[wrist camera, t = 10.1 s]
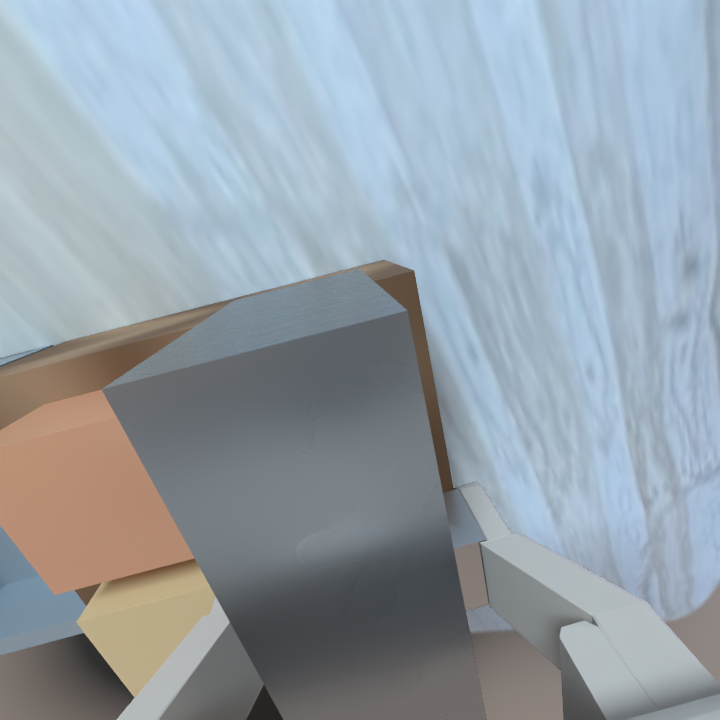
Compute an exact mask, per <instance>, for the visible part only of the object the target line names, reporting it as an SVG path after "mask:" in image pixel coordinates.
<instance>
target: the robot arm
mask: <svg viewBox="0 0 720 720" xmlns="http://www.w3.org/2000/svg"><path fill="white" fill-rule="evenodd" d="M443 496H444V502H445V507H446V512H447V517H448V522H449V528H450V533H451V538H452V543H453V548H454V553H455V559H456V564H457V569H458V574H459V579H460V584H461V590H462V595H463V600H464V605H465V610H470V609H475V608H479V607H483V606H488V605H490V607H491V608H492V609H493V610H494V611H495V612H496V613H497V614H498V615H500V616H501V617H502V618H503V619H504V620H505V621H506V622H507V623H508V624H510V625H511V626H512V627H513V628H514V629H515V630H516V631H517V632H518V633H520V634H521V635H522V636H523V637H524V638H525V639H526V640H527V641H529V642H530V643H531V644H532V645H533V646H534V647H535V648H536V649H537V650H538V651H540V652H541V653H542V654H543V655H544V656H545V657H546V658H547V659H549V660H550V661H551V662H552V663H553V664H554V665H555V666H556V667H557V668H558V669H560V670H561V675H562V696H563V715H564V720H720V685H719V683H718V682H717V681H716V680H715V679H714V678H713V676H712V675H711V674H710V673H709V672H708V671H707V670H706V669H705V667H704V666H703V665H702V664H701V663H700V662H699V661H698V660H697V658H696V657H695V656H694V655H693V654H692V653H691V652H690V650H689V649H688V648H687V647H686V646H685V645H684V644H683V643H682V641H681V640H680V639H679V638H678V637H677V636H676V635H675V634H674V632H673V631H672V630H671V629H670V628H669V627H668V626H667V624H666V623H665V622H664V621H663V620H662V619H661V618H660V617H659V615H658V614H657V613H656V612H655V611H654V610H653V609H652V608H651V606H650V605H649V604H648V603H647V602H646V601H644V600H642V599H640V598H638V597H636V596H635V595H633V594H631V593H629V592H627V591H625V590H624V589H622V588H620V587H618V586H616V585H614V584H613V583H611V582H609V581H607V580H605V579H603V578H602V577H600V576H598V575H596V574H594V573H592V572H591V571H589V570H587V569H585V568H583V567H581V566H580V565H578V564H576V563H574V562H572V561H570V560H569V559H567V558H565V557H563V556H561V555H559V554H558V553H556V552H554V551H552V550H550V549H548V548H547V547H545V546H543V545H541V544H539V543H537V542H536V541H534V540H532V539H530V538H528V537H526V536H525V535H523V534H521V533H515V534H512V533H511V531H510V529H509V528H508V526H507V525H506V523H505V522H504V520H503V519H502V517H501V515H500V514H499V512H498V511H497V509H496V508H495V506H494V504H493V503H492V501H491V500H490V498H489V497H488V495H487V494H486V492H485V490H484V489H483V487H482V486H481V484H480V483H478V482H477V481H476V482H473V483H469V484H466V485H462V486H459V487H457V488H452V489H448V490H445V491H443ZM263 685H264V683H263V681H262V680H261V678H260V676H259V674H258V672H257V671H256V669H255V667H254V665H253V663H252V662H251V660H250V658H249V656H248V654H247V652H246V651H245V649H244V647H243V645H242V643H241V642H240V640H239V638H238V636H237V634H236V632H235V631H234V629H233V627H232V625H231V623H230V622H229V620H228V618H227V616H226V614H225V613H224V611H223V609H222V607H221V605H220V603H219V602H218V600H217V598H216V596H215V599H214V602H213V606H212V609H211V612H210V614H208V615H205V616H203V617H202V618H201V619H200V620H199V622H198V623H197V624H196V625H195V626H194V628H193V629H192V630H191V631H190V632H189V634H188V635H187V636H186V637H185V638H184V640H183V641H182V642H181V643H180V644H179V646H178V647H177V648H176V649H175V650H174V652H173V653H172V654H171V655H170V656H169V658H168V659H167V660H166V661H165V662H164V663H163V665H162V666H161V667H160V668H159V669H158V671H157V672H156V673H155V674H154V675H153V677H152V678H151V679H150V680H149V681H148V683H147V684H146V685H145V686H144V687H143V689H142V690H141V691H140V692H139V693H138V695H137V696H136V697H135V698H134V699H133V701H132V702H131V703H130V704H129V705H128V707H127V708H126V709H125V710H124V711H123V713H122V714H121V715H120V716H119V717H118V719H117V720H246V718H247V717H248V714H249V713H250V710H251V708H252V707H253V705H254V703H255V701H256V699H257V697H258V695H259V693H260V691H261V689H262V687H263Z"/></svg>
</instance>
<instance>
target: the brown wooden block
mask: <svg viewBox="0 0 720 720" xmlns="http://www.w3.org/2000/svg"><path fill="white" fill-rule="evenodd" d="M356 269H360V270H362V271H363V272H364V273H365V274H366V275H367V276H368V277H370V278H371V279H372V280H373V281H374V282H375V283H377V284H378V285H379V286H380V287H381V288H382V289H383V290H385V291H386V292H387V293H388V294H389V295H390V296H391V297H393V298H394V299H395V300H396V301H397V302H398V303H399V304H401V305H402V306H403V307H404V308H405V309H406V310H408V315H409V320H410V326H411V331H412V336H413V341H414V346H415V352H416V357H417V362H418V367H419V372H420V377H421V383H422V388H423V393H424V398H425V403H426V408H427V414H428V419H429V424H430V429H431V434H432V440H433V445H434V450H435V455H436V460H437V465H438V471H439V476H440V481H441V486H442V491H445V490H448V489H452V488H453V484H452V479H451V473H450V467H449V462H448V456H447V451H446V445H445V440H444V434H443V428H442V423H441V417H440V412H439V406H438V401H437V395H436V390H435V384H434V378H433V373H432V367H431V362H430V356H429V351H428V345H427V340H426V334H425V328H424V323H423V317H422V312H421V306H420V301H419V295H418V289H417V284H416V278H415V273H414V270H411V269H408V268H405V267H402V266H399V265H396V264H394V263H391V262H388V261H385V260H382V261H378V262H374V263H371V264H367V265H363V266H359V267H355V268H351V269H347V270H343V271H339V272H335V273H332V274H328V275H324V276H320V277H316V278H312V279H308V280H304V281H300V282H296V283H293V284H289V285H285V286H281V287H277V288H273V289H269V290H265V291H261V292H257V293H254V294H250V295H246V296H242V297H238V298H234V299H230V300H226V301H222V302H218V303H214V304H211V305H207V306H203V307H199V308H195V309H191V310H187V311H183V312H179V313H175V314H172V315H168V316H164V317H160V318H156V319H152V320H148V321H144V322H140V323H136V324H133V325H129V326H125V327H121V328H117V329H113V330H109V331H105V332H101V333H97V334H94V335H90V336H86V337H82V338H78V339H74V340H70V341H66V342H63V343H61V344H58V345H56V346H53V347H51V348H48V349H45V350H43V351H40V352H38V353H35V354H33V355H30V356H28V357H25V358H23V359H20V360H17V361H15V362H12V363H10V364H7V365H5V366H2V367H0V430H1V429H3V428H5V427H7V426H8V425H10V424H12V423H13V422H15V421H17V420H18V419H20V418H22V417H24V416H25V415H27V414H29V413H30V412H32V411H34V410H36V409H37V408H39V407H41V406H42V405H44V404H48V403H52V402H56V401H60V400H64V399H67V398H71V397H75V396H79V395H83V394H87V393H91V392H95V391H98V390H102V389H103V388H104V387H106V386H107V385H109V384H110V383H112V382H113V381H115V380H116V379H118V378H119V377H121V376H122V375H124V374H125V373H127V372H128V371H130V370H131V369H133V368H134V367H135V366H137V365H138V364H140V363H141V362H143V361H144V360H146V359H147V358H149V357H150V356H152V355H153V354H155V353H156V352H158V351H159V350H161V349H162V348H164V347H165V346H167V345H168V344H170V343H171V342H173V341H174V340H176V339H177V338H179V337H180V336H182V335H183V334H185V333H186V332H188V331H189V330H191V329H192V328H194V327H195V326H197V325H198V324H200V323H201V322H203V321H204V320H205V319H207V318H208V317H210V316H211V315H213V314H214V313H216V312H217V311H219V310H220V309H222V308H223V307H225V306H226V305H228V304H229V303H231V302H232V301H235V300H239V299H242V298H246V297H250V296H254V295H258V294H262V293H266V292H270V291H274V290H278V289H282V288H285V287H289V286H293V285H297V284H301V283H305V282H309V281H313V280H317V279H321V278H325V277H328V276H332V275H336V274H340V273H344V272H348V271H352V270H356ZM100 585H101V583H99V584H95V585H92V586H88V587H84V588H80V589H76V590H74V591H75V592H76V593H77V595H78V596H79V597H80V599H81V600H82V601H83V603H84V604H85V605H86V606H87V605H88V603H89V602H90V600H91V599H92V597H93V596H94V594H95V592H96V591H97V589H98V588H99V586H100Z"/></svg>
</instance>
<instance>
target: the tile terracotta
mask: <svg viewBox="0 0 720 720" xmlns="http://www.w3.org/2000/svg"><path fill="white" fill-rule="evenodd" d="M0 526H1V527H2V528H3V529H4V531H5V532H6V533H7V535H8V536H9V537H10V538H11V540H12V541H13V542H14V543H15V545H16V546H17V547H18V549H19V550H20V551H21V552H22V554H23V555H24V556H25V558H26V559H27V560H28V561H29V563H30V564H31V565H32V567H33V568H34V569H35V570H36V572H37V573H38V574H39V576H40V577H41V578H42V579H43V581H44V582H45V583H46V585H47V586H48V587H49V588H50V590H51V591H52V592H53V593H54V595H57V594H61V593H65V592H69V591H73V590H76V589H80V588H84V587H88V586H92V585H95V584H99V583H103V582H107V581H111V580H114V579H118V578H122V577H126V576H130V575H133V574H137V573H141V572H145V571H149V570H152V569H156V568H160V567H164V566H168V565H171V564H175V563H179V562H183V561H186V560H190V559H194V556H193V555H192V553H191V551H190V549H189V547H188V545H187V544H186V542H185V540H184V538H183V536H182V535H181V533H180V531H179V529H178V527H177V525H176V524H175V522H174V520H173V518H172V516H171V515H170V513H169V511H168V509H167V507H166V506H165V504H164V502H163V500H162V498H161V496H160V495H159V493H158V491H157V489H156V487H155V486H154V484H153V482H152V480H151V478H150V477H149V475H148V473H147V471H146V469H145V467H144V466H143V464H142V462H141V460H140V458H139V457H138V455H137V453H136V451H135V449H134V448H133V446H132V444H131V442H130V440H129V438H128V437H127V435H126V433H125V431H124V429H123V428H122V426H121V424H120V422H119V420H118V419H117V417H116V415H115V413H114V411H113V409H112V408H111V406H110V404H109V402H108V400H107V399H106V397H105V395H104V393H103V391H102V390H98V391H95V392H91V393H87V394H83V395H79V396H75V397H71V398H67V399H64V400H60V401H56V402H52V403H48V404H44V405H42V406H41V407H39V408H37V409H36V410H34V411H32V412H30V413H29V414H27V415H25V416H24V417H22V418H20V419H18V420H17V421H15V422H13V423H12V424H10V425H8V426H7V427H5V428H3V429H1V430H0Z"/></svg>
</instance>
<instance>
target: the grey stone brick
mask: <svg viewBox="0 0 720 720" xmlns="http://www.w3.org/2000/svg"><path fill="white" fill-rule="evenodd" d="M102 391H103V393H104V395H105V397H106V399H107V400H108V402H109V404H110V406H111V408H112V409H113V411H114V413H115V415H116V417H117V419H118V420H119V422H120V424H121V426H122V428H123V429H124V431H125V433H126V435H127V437H128V438H129V440H130V442H131V444H132V446H133V448H134V449H135V451H136V453H137V455H138V457H139V458H140V460H141V462H142V464H143V466H144V467H145V469H146V471H147V473H148V475H149V477H150V478H151V480H152V482H153V484H154V486H155V487H156V489H157V491H158V493H159V495H160V496H161V498H162V500H163V502H164V504H165V506H166V507H167V509H168V511H169V513H170V515H171V516H172V518H173V520H174V522H175V524H176V525H177V527H178V529H179V531H180V533H181V535H182V536H183V538H184V540H185V542H186V544H187V545H188V547H189V549H190V551H191V553H192V555H193V556H194V558H195V560H196V562H197V564H198V565H199V567H200V569H201V571H202V573H203V574H204V576H205V578H206V580H207V582H208V584H209V585H210V587H211V589H212V591H213V593H214V594H215V596H216V598H217V600H218V602H219V603H220V605H221V607H222V609H223V611H224V613H225V614H226V616H227V618H228V620H229V622H230V623H231V625H232V627H233V629H234V631H235V632H236V634H237V636H238V638H239V640H240V642H241V643H242V645H243V647H244V649H245V651H246V652H247V654H248V656H249V658H250V660H251V662H252V663H253V665H254V667H255V669H256V671H257V672H258V674H259V676H260V678H261V680H262V681H263V683H264V685H265V687H266V689H267V690H268V692H269V694H270V696H271V698H272V700H273V701H274V703H275V705H276V707H277V708H278V710H279V712H280V714H281V716H282V718H283V719H284V720H487V719H486V714H485V709H484V703H483V698H482V693H481V688H480V683H479V678H478V672H477V667H476V662H475V657H474V652H473V647H472V642H471V636H470V631H469V626H468V621H467V615H466V610H465V605H464V600H463V595H462V590H461V584H460V579H459V574H458V569H457V564H456V559H455V553H454V548H453V543H452V538H451V533H450V528H449V522H448V517H447V512H446V507H445V502H444V496H443V491H442V486H441V481H440V476H439V471H438V465H437V460H436V455H435V450H434V445H433V440H432V434H431V429H430V424H429V419H428V414H427V408H426V403H425V398H424V393H423V388H422V383H421V377H420V372H419V367H418V362H417V357H416V352H415V346H414V341H413V336H412V331H411V326H410V320H409V315H408V310H406V309H405V308H404V307H403V306H402V305H401V304H399V303H398V302H397V301H396V300H395V299H394V298H393V297H391V296H390V295H389V294H388V293H387V292H386V291H385V290H383V289H382V288H381V287H380V286H379V285H378V284H377V283H375V282H374V281H373V280H372V279H371V278H370V277H368V276H367V275H366V274H365V273H364V272H363V271H362V270H360V269H356V270H352V271H348V272H344V273H340V274H336V275H332V276H328V277H325V278H321V279H317V280H313V281H309V282H305V283H301V284H297V285H293V286H289V287H285V288H282V289H278V290H274V291H270V292H266V293H262V294H258V295H254V296H250V297H246V298H242V299H239V300H235V301H232V302H231V303H229V304H228V305H226V306H225V307H223V308H222V309H220V310H219V311H217V312H216V313H214V314H213V315H211V316H210V317H208V318H207V319H205V320H204V321H203V322H201V323H200V324H198V325H197V326H195V327H194V328H192V329H191V330H189V331H188V332H186V333H185V334H183V335H182V336H180V337H179V338H177V339H176V340H174V341H173V342H171V343H170V344H168V345H167V346H165V347H164V348H162V349H161V350H159V351H158V352H156V353H155V354H153V355H152V356H150V357H149V358H147V359H146V360H144V361H143V362H141V363H140V364H138V365H137V366H135V367H134V368H133V369H131V370H130V371H128V372H127V373H125V374H124V375H122V376H121V377H119V378H118V379H116V380H115V381H113V382H112V383H110V384H109V385H107V386H106V387H104V388H103V389H102Z"/></svg>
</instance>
